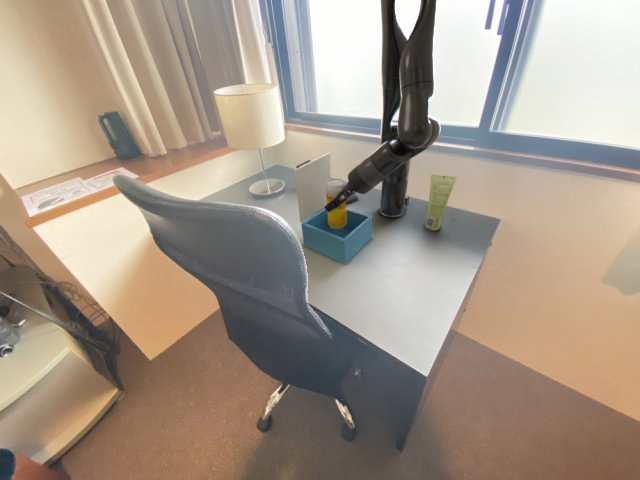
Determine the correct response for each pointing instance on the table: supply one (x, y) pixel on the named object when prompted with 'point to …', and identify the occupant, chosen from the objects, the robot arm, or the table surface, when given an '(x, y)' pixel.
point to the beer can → (338, 215)
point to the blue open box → (337, 235)
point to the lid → (312, 185)
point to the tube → (438, 199)
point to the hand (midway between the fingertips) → (331, 204)
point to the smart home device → (350, 200)
